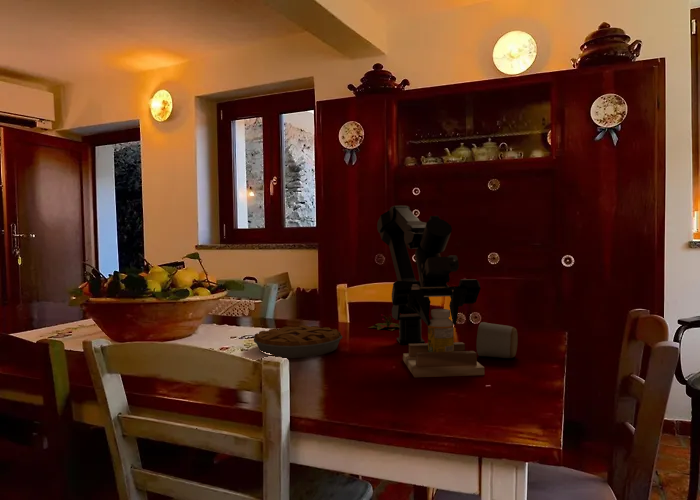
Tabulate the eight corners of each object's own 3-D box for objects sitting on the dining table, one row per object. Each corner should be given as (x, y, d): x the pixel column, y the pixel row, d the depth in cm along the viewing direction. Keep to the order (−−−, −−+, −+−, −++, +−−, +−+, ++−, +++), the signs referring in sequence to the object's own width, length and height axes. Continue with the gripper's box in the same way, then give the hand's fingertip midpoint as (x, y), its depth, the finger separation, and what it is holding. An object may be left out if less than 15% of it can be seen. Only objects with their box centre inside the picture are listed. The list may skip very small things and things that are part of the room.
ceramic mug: (513, 362, 110) (513, 326, 110) (475, 359, 114) (475, 324, 114) (520, 352, 120) (520, 320, 120) (485, 349, 124) (484, 318, 123)
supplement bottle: (453, 358, 104) (453, 312, 104) (427, 358, 106) (426, 311, 105) (454, 352, 110) (453, 308, 109) (428, 351, 111) (428, 307, 110)
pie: (287, 365, 112) (286, 342, 112) (237, 349, 129) (237, 330, 129) (360, 349, 127) (359, 329, 127) (307, 337, 143) (306, 319, 143)
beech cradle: (403, 360, 114) (402, 342, 114) (464, 358, 115) (464, 340, 115) (414, 377, 100) (414, 357, 100) (484, 375, 101) (484, 354, 101)
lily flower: (415, 327, 156) (415, 312, 156) (393, 334, 147) (393, 318, 146) (382, 324, 163) (382, 309, 163) (360, 330, 154) (360, 314, 154)
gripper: (392, 243, 110) (401, 301, 100) (477, 242, 111) (495, 299, 101) (388, 276, 118) (395, 333, 108) (467, 275, 119) (482, 331, 109)
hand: (441, 324), depth 106 cm, fingers closed on supplement bottle, 5 cm apart
